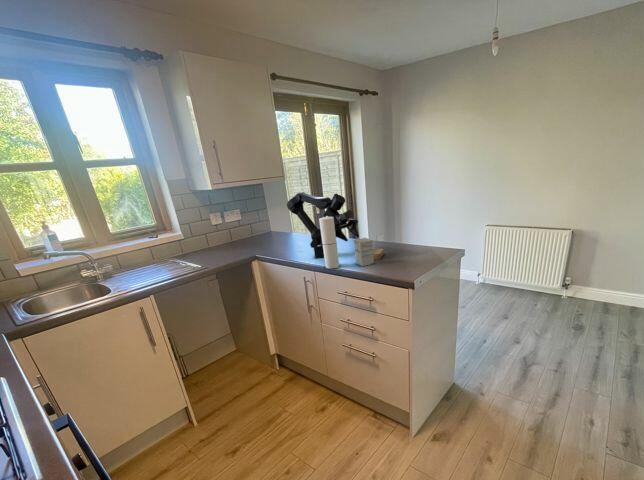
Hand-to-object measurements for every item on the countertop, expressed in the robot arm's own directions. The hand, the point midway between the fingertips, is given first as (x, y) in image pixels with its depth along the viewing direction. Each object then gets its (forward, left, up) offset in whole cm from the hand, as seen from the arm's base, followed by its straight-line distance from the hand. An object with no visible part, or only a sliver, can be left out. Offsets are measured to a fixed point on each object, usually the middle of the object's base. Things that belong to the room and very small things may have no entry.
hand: (353, 238), depth 162 cm
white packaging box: (+5, -4, -13) cm, 14 cm away
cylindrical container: (-12, -4, -13) cm, 18 cm away
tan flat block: (+10, +7, -12) cm, 17 cm away
